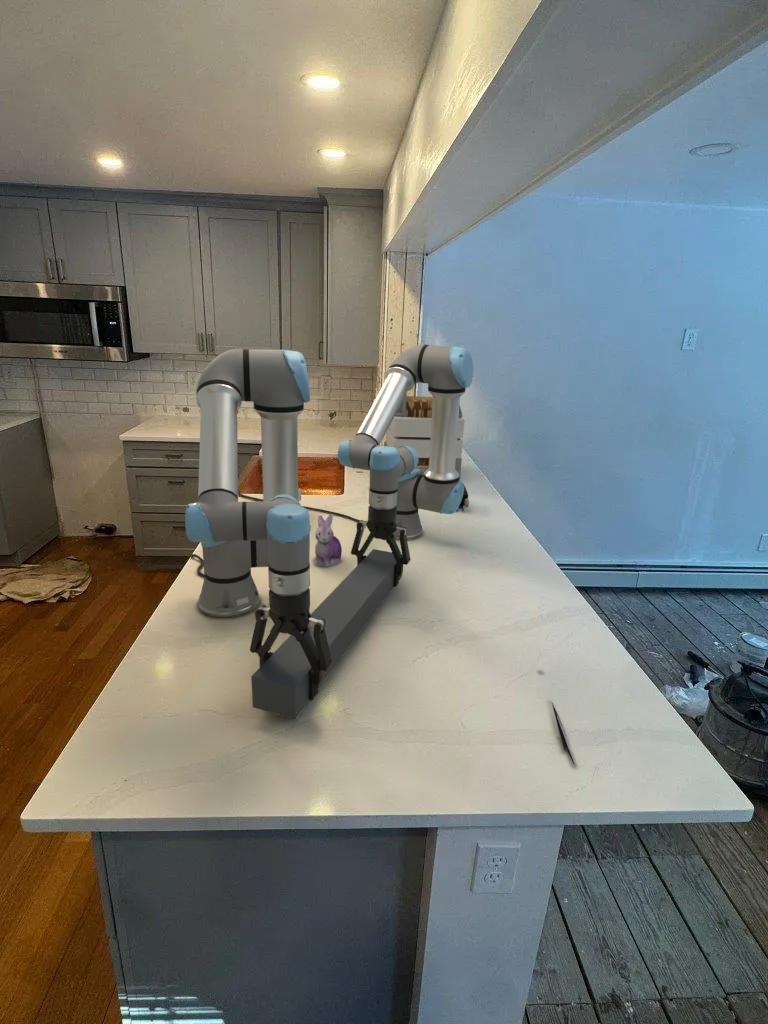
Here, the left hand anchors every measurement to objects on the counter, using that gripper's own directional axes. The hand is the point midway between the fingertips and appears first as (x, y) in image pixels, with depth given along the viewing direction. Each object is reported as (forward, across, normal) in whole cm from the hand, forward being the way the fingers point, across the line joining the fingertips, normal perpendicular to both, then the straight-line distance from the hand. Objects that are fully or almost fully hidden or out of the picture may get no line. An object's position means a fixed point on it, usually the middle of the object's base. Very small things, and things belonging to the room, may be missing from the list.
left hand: (291, 689), depth 112 cm
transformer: (+3, -23, +174) cm, 175 cm away
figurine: (+3, -21, +63) cm, 67 cm away
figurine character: (+3, +5, +133) cm, 133 cm away
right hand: (0, 0, +51) cm, 51 cm away
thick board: (+1, 0, +26) cm, 26 cm away
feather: (+3, +50, +17) cm, 53 cm away
